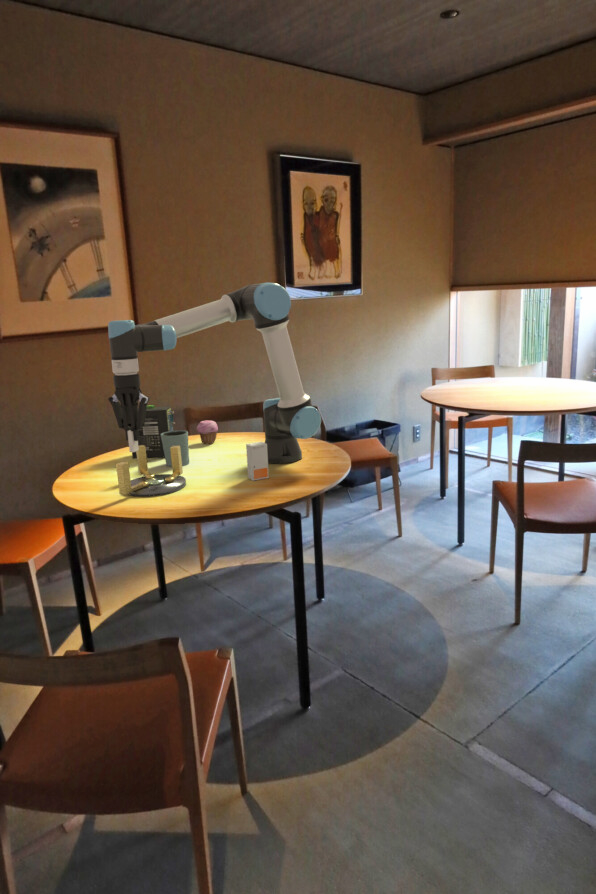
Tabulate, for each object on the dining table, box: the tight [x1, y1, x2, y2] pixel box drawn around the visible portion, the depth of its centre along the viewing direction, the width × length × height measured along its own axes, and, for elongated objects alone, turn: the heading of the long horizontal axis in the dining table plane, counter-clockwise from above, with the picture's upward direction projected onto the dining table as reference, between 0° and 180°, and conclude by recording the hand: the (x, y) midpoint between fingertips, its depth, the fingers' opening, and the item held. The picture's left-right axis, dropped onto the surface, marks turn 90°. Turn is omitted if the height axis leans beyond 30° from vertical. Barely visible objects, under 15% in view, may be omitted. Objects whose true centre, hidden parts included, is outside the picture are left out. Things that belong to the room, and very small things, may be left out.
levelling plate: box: [127, 473, 187, 498], centre depth 200 cm, size 20×20×2 cm
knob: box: [136, 445, 155, 480], centre depth 207 cm, size 11×3×10 cm, turn 30°
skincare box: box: [245, 441, 270, 481], centre depth 204 cm, size 6×4×12 cm
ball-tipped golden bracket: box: [115, 461, 148, 496], centre depth 192 cm, size 11×3×10 cm, turn 150°
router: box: [127, 404, 176, 460], centre depth 241 cm, size 8×18×20 cm, turn 89°
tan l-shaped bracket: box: [165, 446, 183, 482], centre depth 203 cm, size 11×3×10 cm, turn 172°
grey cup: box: [161, 429, 190, 468], centre depth 228 cm, size 10×10×12 cm
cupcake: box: [196, 419, 219, 445], centre depth 260 cm, size 9×9×10 cm
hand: (134, 451), depth 185 cm, fingers closed
